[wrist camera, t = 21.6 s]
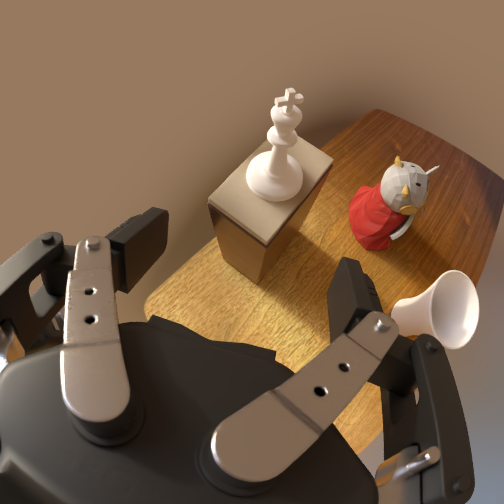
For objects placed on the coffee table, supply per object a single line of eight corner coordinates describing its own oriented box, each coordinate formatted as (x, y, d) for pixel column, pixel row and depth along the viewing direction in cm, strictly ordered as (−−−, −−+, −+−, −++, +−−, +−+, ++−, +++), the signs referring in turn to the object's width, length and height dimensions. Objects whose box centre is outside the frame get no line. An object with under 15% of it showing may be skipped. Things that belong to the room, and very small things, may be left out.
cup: (369, 329, 39) (417, 327, 26) (396, 275, 41) (444, 254, 28) (412, 358, 37) (464, 362, 24) (435, 306, 40) (486, 294, 27)
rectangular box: (256, 285, 41) (267, 245, 21) (222, 258, 41) (205, 198, 22) (298, 231, 43) (336, 159, 24) (266, 207, 44) (281, 124, 25)
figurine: (400, 261, 42) (453, 233, 28) (342, 242, 43) (384, 203, 28) (405, 198, 46) (447, 157, 31) (353, 178, 46) (386, 126, 32)
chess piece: (312, 191, 23) (348, 111, 13) (259, 209, 22) (269, 127, 12) (287, 148, 24) (306, 64, 14) (238, 163, 23) (235, 75, 14)
